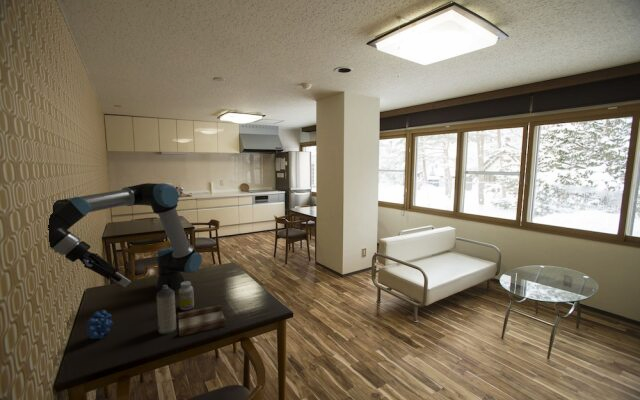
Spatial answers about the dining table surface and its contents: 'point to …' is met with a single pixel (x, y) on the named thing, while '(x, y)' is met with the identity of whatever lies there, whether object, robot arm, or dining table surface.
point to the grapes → (99, 324)
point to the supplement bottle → (186, 296)
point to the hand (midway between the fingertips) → (127, 284)
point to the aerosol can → (166, 310)
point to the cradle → (201, 320)
